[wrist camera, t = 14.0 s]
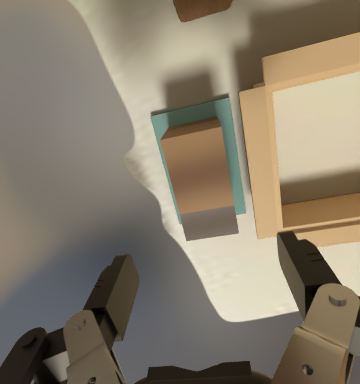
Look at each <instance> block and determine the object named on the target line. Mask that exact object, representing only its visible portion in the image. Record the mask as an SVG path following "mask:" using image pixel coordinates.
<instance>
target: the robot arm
mask: <svg viewBox="0 0 360 384" xmlns="http://www.w3.org/2000/svg"><path fill="white" fill-rule="evenodd" d="M277 245H278V256H279V262H280V265H281V268H282V271H283V273H284V276H285V278H286V280H287V283H288V285H289V287H290V290H291V292H292V294H293V297H294V299H295V302H296V304H297V306H298V309H299V311H300V313H301V316H302V318H303V321H304V323H303V325H302V326H301V327H299V326H298V327H297V328H296V329H295V330H294V332H293V335H292V337H291V339H290V341H289V344H288V346H287V348H286V350H285V353H284V355H283V357H282V359H281V361H280V364H279V366H278V368H277V370H276V373H275V375H274V377H273V378H271V377H269V376H267V375H265V374H263V373H260V372H258V371H253V370H251V366H250V362H249V361H241V362H225V363H221V364H218V365H215V366H212V367H210V368H207V369H204V370H201V371H197V372H196V371H192V370H187V369H183V368H179V367H174V366H162V367H149V369H148V375H147V377H145V378H143V379H141V380H139V381H138V382H136V383H135V384H348V382H349V377H350V373H351V369H352V365H353V361H354V357H355V355H356V356H360V296H357V294H356V293H355V292H354V291H352V290H351V289H349V288H348V287H346V286H343V285H342V284H341V283H340V281H339V280H338V278H337V277H336V275H335V274H334V272H333V271H332V269H331V268H330V267H329V265H328V264H327V262H326V261H325V260H324V258H323V256H322V255H321V254H320V252H319V250H318V249H317V247H316V246H315V245H314V244H313V243H311V242H310V241H308V240H307V239H302V240H298V239H297V237H296V235H295V234H294V232H293V231H285V232H278V233H277ZM138 287H139V275H138V272H137V269H136V267H135V264H134V262H133V259H132V257H131V255H130V254H124V255H117V256H115V258H114V260H113V262H112V264H111V266H108V267H106V268H105V270H104V271H103V272H102V273H101V275H100V277H99V279H98V282H97V283H96V285H95V288H94V289H93V290H92V293H91V295H90V296H89V298H88V300H87V302H86V305H85V306H84V309H83V310H82V311H80V312H78V313H76V314H74V315H73V316H72V317H71V318H70V319H69V320H68V321H67V322H66V324H65V326H64V327H63V328H61V329H58V330H56V331H53V332H51V333H48V334H47V332H46V331H45V329H43V328H41V327H39V328H34V329H32V330H30V331H28V332H27V333H25V334H24V335H23V336H22V337H21V338H20V339H19V340H18V341H17V342H16V344H15V345H14V347H13V348H12V350H11V351H10V353H9V354H8V356H7V358H6V359H5V361H4V362H3V364H2V366H1V367H0V384H30V383H31V381H32V379H33V380H34V381H35V382H34V384H67V382H68V384H127V383H126V381H125V378H124V376H123V373H122V371H121V369H120V366H119V363H118V361H117V358H116V356H115V354H114V351H113V349H112V346H113V343H114V342H115V341H123V337H124V334H125V331H126V327H127V324H128V321H129V317H130V314H131V310H132V307H133V304H134V300H135V297H136V293H137V290H138Z"/></svg>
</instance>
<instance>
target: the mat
mask: <svg viewBox="0 0 360 384" xmlns="http://www.w3.org/2000/svg"><path fill="white" fill-rule="evenodd" d="M215 116H217V118H218V120H219V122H220V124H221V127H222V133H223V139H224V145H225V151H226V157H227V164H228V170H229V176H230V182H231V188H232V194H233V201H234V207H235V213H236V215H239V214H245V213H246V210H245V203H244V196H243V189H242V182H241V176H240V169H239V162H238V155H237V148H236V141H235V134H234V127H233V120H232V113H231V107H230V100H229V97H228V98H224V99H220V100H215V101H211V102H207V103H203V104H199V105H195V106H190V107H186V108H182V109H178V110H174V111H170V112H165V113H161V114H157V115H153V116H150V117H151V121H152V124H153V128H154V132H155V135H156V139H157V143H158V146H159V150H160V154H161V157H162V161H163V165H164V168H165V172H166V176H167V179H168V183H169V187H170V190H171V194H172V198H173V201H174V205H175V209H176V212H177V216H178V220H179V223H180V224H182V222H181V218H180V214H179V211H178V207H177V203H176V199H175V196H174V192H173V188H172V184H171V181H170V177H169V173H168V169H167V165H166V162H165V158H164V154H163V150H162V147H161V143H160V139H161V138H162V136H163V135H164V133H165V132H166V130H167V129H168V127H172V126H176V125H180V124H185V123H189V122H194V121H198V120H202V119H207V118H211V117H215Z"/></svg>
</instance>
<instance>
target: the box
mask: <svg viewBox="0 0 360 384" xmlns="http://www.w3.org/2000/svg"><path fill="white" fill-rule="evenodd" d="M160 143H161V147H162V150H163V154H164V158H165V162H166V165H167V169H168V173H169V177H170V181H171V184H172V188H173V192H174V196H175V199H176V203H177V207H178V211H179V214H180V218H181V222H182V226H183V229H184V233H185V237H186V241H190V240H197V239H204V238H210V237H217V236H224V235H231V234H237V233H239V231H238V225H237V219H236V213H235V207H234V201H233V194H232V188H231V182H230V176H229V170H228V164H227V157H226V151H225V145H224V139H223V133H222V127H221V124H220V122H219V120H218V118H217V116H215V117H211V118H207V119H202V120H198V121H194V122H189V123H185V124H180V125H176V126H172V127H168V129H167V130H166V132H165V133H164V135H163V136H162V138H161V139H160Z"/></svg>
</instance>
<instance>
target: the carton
mask: <svg viewBox="0 0 360 384" xmlns="http://www.w3.org/2000/svg"><path fill="white" fill-rule="evenodd" d="M261 60H262V71H263V82H262V83H258V84H254V85H253V89H249V90H244V91H240V92H238V93H239V101H240V109H241V116H242V124H243V132H244V139H245V147H246V155H247V162H248V170H249V178H250V186H251V193H252V201H253V209H254V216H255V224H256V232H257V238H258V239H263V238H269V237H276V236H277V233H278V232H285V231H293V232H294V234H295V235H296V237H297V239H298V240H302V239H307V240H308V241H310V242H311V243H313V244H314V245H315V246H316V247H322V246H329V245H337V244H344V243H352V242H359V241H360V193H354V194H348V195H342V196H336V197H329V198H323V199H317V200H311V201H305V202H299V203H293V204H287V205H281V196H280V184H279V171H278V158H277V145H276V133H275V120H274V107H273V94H272V92H274V91H278V90H282V89H287V88H291V87H295V86H299V85H304V84H308V83H312V82H316V81H320V80H325V79H329V78H333V77H337V76H342V75H346V74H350V73H354V72H358V71H360V32H358V33H354V34H350V35H347V36H343V37H339V38H335V39H331V40H327V41H324V42H320V43H316V44H312V45H308V46H304V47H301V48H297V49H293V50H289V51H285V52H281V53H278V54H274V55H270V56H266V57H262V58H261Z"/></svg>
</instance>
